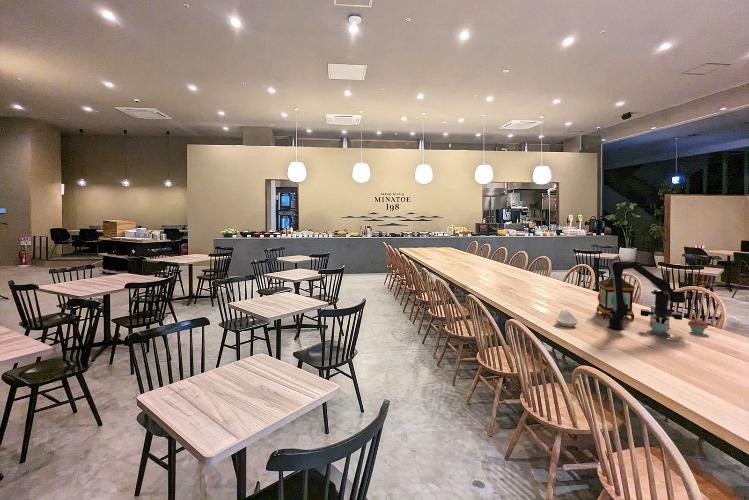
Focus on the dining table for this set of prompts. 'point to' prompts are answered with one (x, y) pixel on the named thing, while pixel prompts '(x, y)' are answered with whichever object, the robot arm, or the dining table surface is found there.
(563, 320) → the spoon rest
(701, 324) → the cupcake
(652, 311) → the small box
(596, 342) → the dining table surface
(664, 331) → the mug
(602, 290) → the decorative lantern
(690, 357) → the dining table surface
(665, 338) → the coaster
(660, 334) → the holder ring
